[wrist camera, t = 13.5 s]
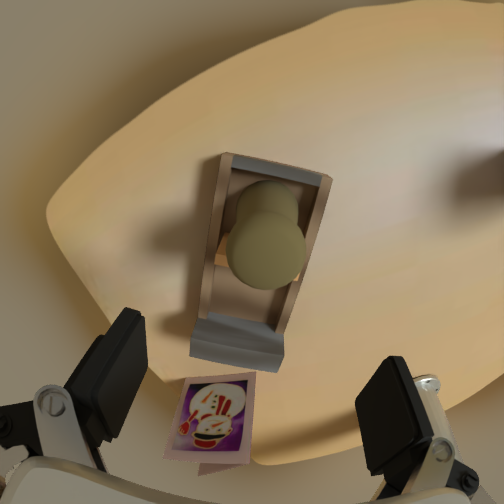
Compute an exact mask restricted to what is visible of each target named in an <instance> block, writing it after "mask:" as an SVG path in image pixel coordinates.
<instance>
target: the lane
mask: <svg viewBox="0 0 504 504" xmlns="http://www.w3.org/2000/svg"><path fill="white" fill-rule="evenodd" d="M262 180H272V181H276V182H280V183H281V184H283V185H285V186H287V187H288V188H289V189H290V190H291V192H292V193H293V194H294V195H295V198H296V200H297V203H298V223H297V226H298V227H299V228H300V229H301V232H302V234H303V237H304V239H305V242H306V259H305V262H304V265H303V268H302V270H301V272H300V275H299V278H298V281H294V280H293V281H291V282H290V283H288V284H287V285H285V286H283V287H280V288H277V289H274V290H260V289H255V288H252V287H250V286H248V285H246V284H244V283H242V282H241V281H240V280H239V279H238V278H237V277H235V276H234V275H233V273H232V271H231V269H230V267H225V266H221V265H216V264H214V262H215V256H216V252H217V250H218V247H219V245H220V243H221V240H222V238H223V235H224V233H225V232H226V233H230V232H231V230H232V229H233V227H234V225H235V224H236V205H237V200H238V198H239V196H240V194H241V193H242V191H243V190H244V189H245V188H247V187H248V186H249V185H250V184H253V183H255V182H257V181H262ZM332 181H333V179H332V178H331V177H330V176H328V175H326V174H323V173H319V172H315V171H311V170H307V169H303V168H299V167H295V166H291V165H287V164H282V163H278V162H273V161H269V160H264V159H259V158H255V157H250V156H244V155H239V154H234V153H228V152H225V153H223V154H222V156H221V161H220V167H219V172H218V178H217V184H216V190H215V196H214V202H213V208H212V214H211V221H210V227H209V234H208V241H207V248H206V255H205V263H204V270H203V278H202V286H201V294H200V303H199V311H198V318H197V321H196V324H195V327H194V330H193V333H192V336H191V341H190V354H189V356H190V357H195V358H199V359H203V360H208V361H212V362H217V363H222V364H227V365H232V366H237V367H243V368H249V369H254V370H261V371H267V372H274V373H277V372H278V370H279V367H280V365H281V363H282V360H283V358H284V335H283V334H284V332H285V329H286V326H287V323H288V321H289V318H290V315H291V312H292V309H293V307H294V304H295V301H296V298H297V295H298V292H299V289H300V286H301V283H302V280H303V277H304V274H305V271H306V268H307V265H308V262H309V259H310V256H311V253H312V250H313V246H314V243H315V240H316V237H317V233H318V230H319V227H320V223H321V220H322V217H323V213H324V210H325V206H326V203H327V199H328V196H329V192H330V188H331V185H332Z"/></svg>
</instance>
